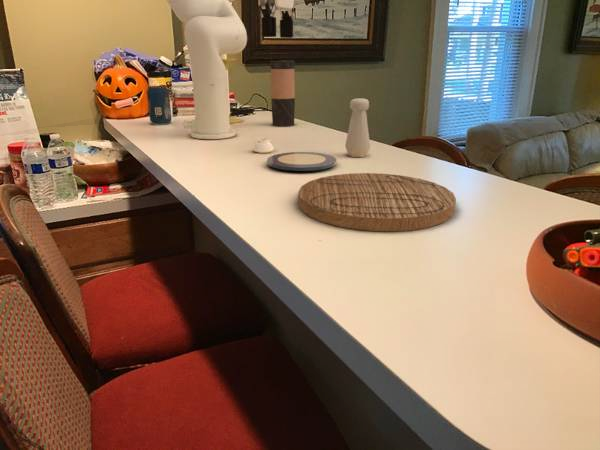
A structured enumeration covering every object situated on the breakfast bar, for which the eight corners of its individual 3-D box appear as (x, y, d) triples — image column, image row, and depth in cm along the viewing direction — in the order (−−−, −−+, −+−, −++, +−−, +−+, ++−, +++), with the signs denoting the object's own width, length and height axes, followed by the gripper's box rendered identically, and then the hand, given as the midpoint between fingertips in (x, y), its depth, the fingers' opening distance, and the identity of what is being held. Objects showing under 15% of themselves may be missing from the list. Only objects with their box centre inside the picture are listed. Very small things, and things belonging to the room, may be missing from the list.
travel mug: (294, 126, 151) (294, 60, 144) (271, 126, 151) (269, 60, 144) (295, 123, 158) (294, 60, 151) (272, 123, 158) (271, 60, 151)
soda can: (152, 122, 161) (148, 85, 156) (173, 121, 161) (169, 85, 157) (148, 125, 154) (144, 87, 150) (170, 124, 155) (166, 87, 151)
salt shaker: (368, 158, 108) (371, 100, 103) (343, 157, 109) (345, 99, 104) (370, 153, 113) (373, 97, 108) (346, 152, 114) (348, 97, 110)
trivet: (300, 182, 89) (300, 172, 88) (433, 183, 88) (434, 173, 87) (295, 230, 65) (295, 217, 65) (476, 232, 65) (478, 219, 64)
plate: (258, 171, 97) (258, 165, 96) (276, 156, 110) (276, 150, 110) (331, 175, 94) (331, 168, 93) (340, 159, 107) (340, 153, 107)
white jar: (276, 150, 117) (257, 148, 118) (276, 138, 116) (257, 137, 117) (269, 154, 112) (250, 152, 114) (269, 141, 111) (249, 140, 113)
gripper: (277, -40, 112) (278, 38, 118) (243, -53, 97) (246, 36, 103) (306, -42, 109) (306, 37, 116) (276, -56, 94) (277, 36, 100)
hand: (278, 37), depth 109 cm, fingers open, 9 cm apart
